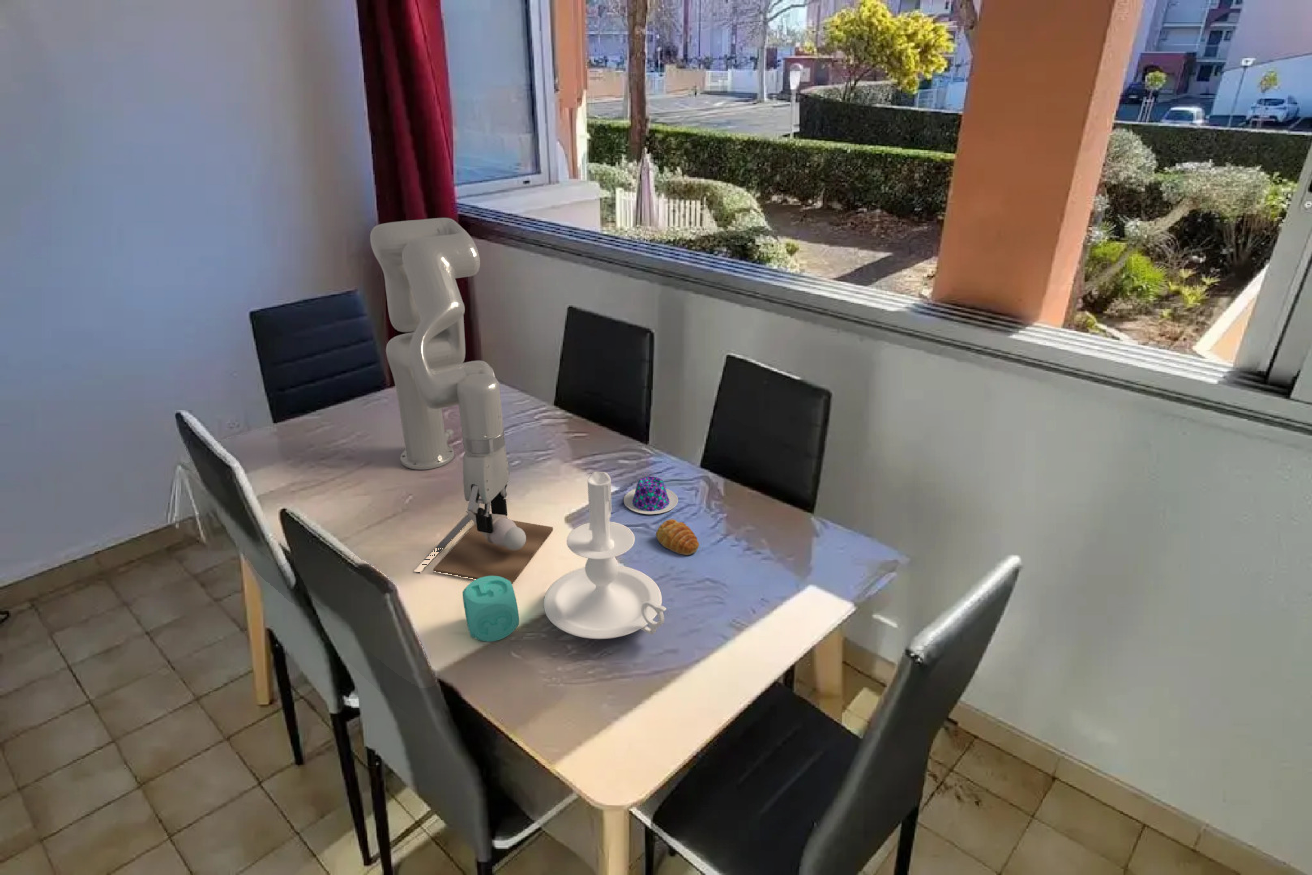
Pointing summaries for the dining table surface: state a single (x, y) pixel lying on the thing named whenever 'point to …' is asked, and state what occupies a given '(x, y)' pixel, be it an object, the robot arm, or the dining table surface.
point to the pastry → (677, 537)
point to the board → (492, 554)
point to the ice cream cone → (503, 532)
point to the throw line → (451, 535)
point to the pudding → (650, 497)
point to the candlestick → (603, 578)
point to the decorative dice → (490, 608)
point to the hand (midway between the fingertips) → (492, 522)
